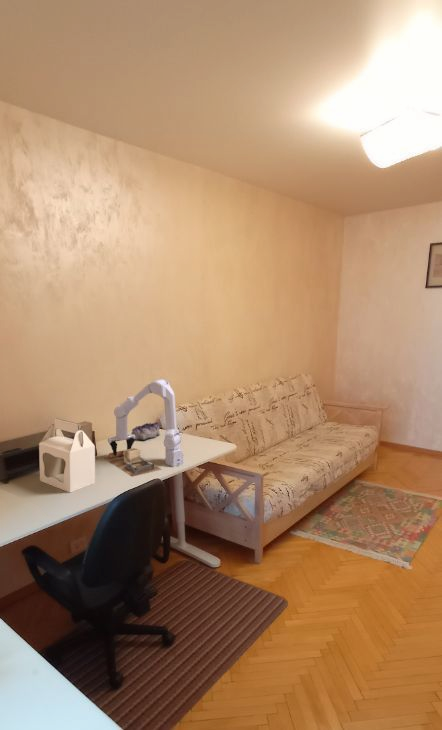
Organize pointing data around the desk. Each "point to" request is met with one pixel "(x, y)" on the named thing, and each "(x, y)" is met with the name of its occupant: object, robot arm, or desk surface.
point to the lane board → (133, 466)
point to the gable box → (67, 457)
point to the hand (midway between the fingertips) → (121, 453)
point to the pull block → (128, 455)
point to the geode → (146, 431)
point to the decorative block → (85, 429)
